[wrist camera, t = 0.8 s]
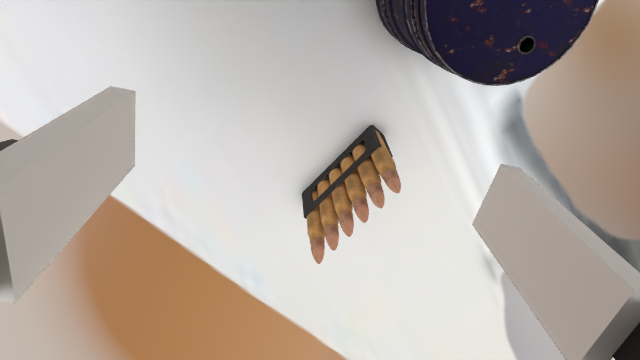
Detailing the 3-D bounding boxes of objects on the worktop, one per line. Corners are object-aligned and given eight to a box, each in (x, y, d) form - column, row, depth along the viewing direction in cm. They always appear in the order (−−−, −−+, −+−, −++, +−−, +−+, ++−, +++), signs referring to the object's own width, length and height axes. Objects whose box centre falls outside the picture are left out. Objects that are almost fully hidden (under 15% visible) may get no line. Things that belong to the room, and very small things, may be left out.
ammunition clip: (371, 123, 40) (399, 176, 29) (384, 135, 40) (415, 191, 30) (301, 193, 43) (302, 264, 32) (313, 203, 44) (319, 275, 33)
